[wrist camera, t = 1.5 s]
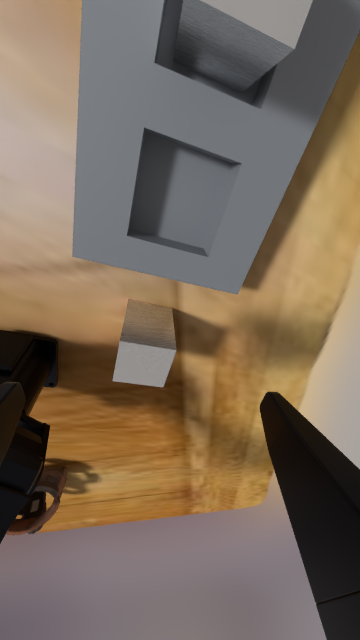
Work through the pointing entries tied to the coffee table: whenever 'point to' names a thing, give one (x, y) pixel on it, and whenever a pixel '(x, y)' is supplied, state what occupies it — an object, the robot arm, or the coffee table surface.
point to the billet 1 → (145, 345)
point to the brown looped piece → (39, 503)
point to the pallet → (190, 141)
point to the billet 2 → (237, 37)
